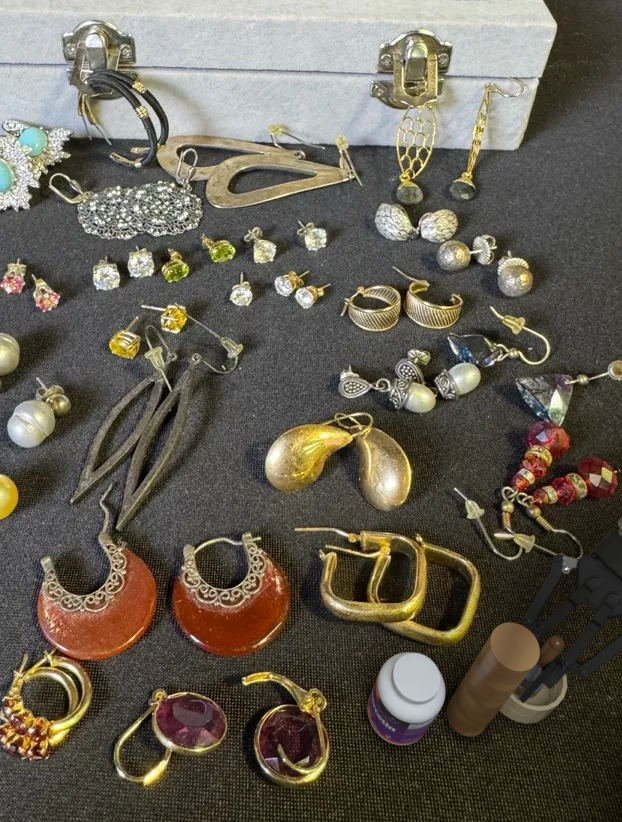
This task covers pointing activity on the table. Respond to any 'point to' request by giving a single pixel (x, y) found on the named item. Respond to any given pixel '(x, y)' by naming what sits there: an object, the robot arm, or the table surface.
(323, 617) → the table surface
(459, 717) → the wooden dowel cylinder
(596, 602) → the robot arm
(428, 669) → the pill bottle
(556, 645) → the wooden handled stamp
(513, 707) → the bowl
